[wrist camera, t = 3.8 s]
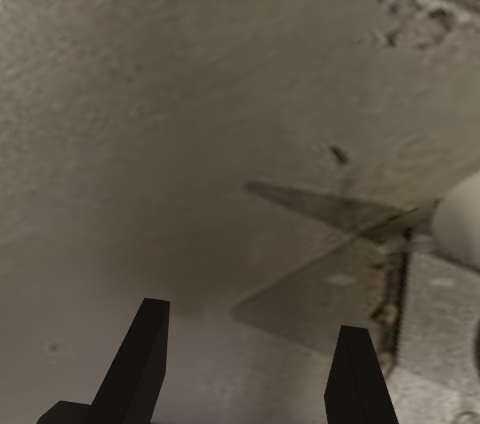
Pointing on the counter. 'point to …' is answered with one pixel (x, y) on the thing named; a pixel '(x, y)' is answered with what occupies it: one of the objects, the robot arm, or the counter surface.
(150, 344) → the robot arm
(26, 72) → the counter surface
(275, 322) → the counter surface
